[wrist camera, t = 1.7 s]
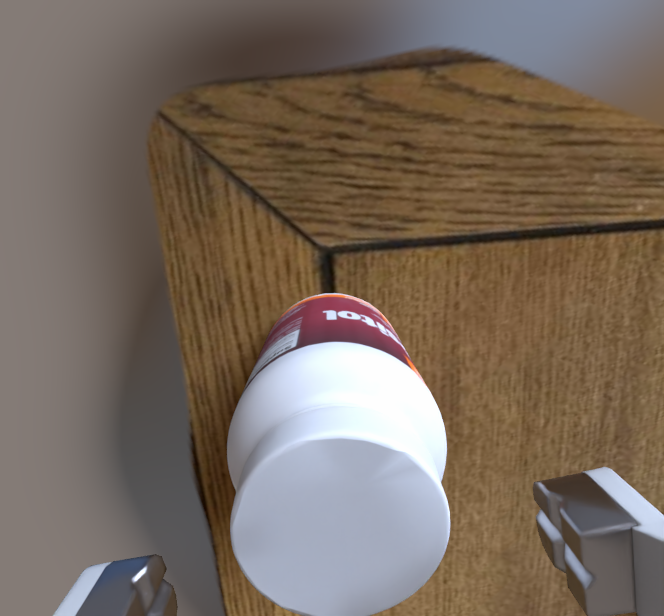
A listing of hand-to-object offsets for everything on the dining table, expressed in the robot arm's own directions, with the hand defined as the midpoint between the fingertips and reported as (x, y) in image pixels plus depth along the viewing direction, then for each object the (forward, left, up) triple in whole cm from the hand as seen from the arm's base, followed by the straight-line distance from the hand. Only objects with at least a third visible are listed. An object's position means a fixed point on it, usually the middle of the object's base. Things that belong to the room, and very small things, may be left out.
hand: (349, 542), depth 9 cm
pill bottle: (0, 0, -11) cm, 11 cm away
